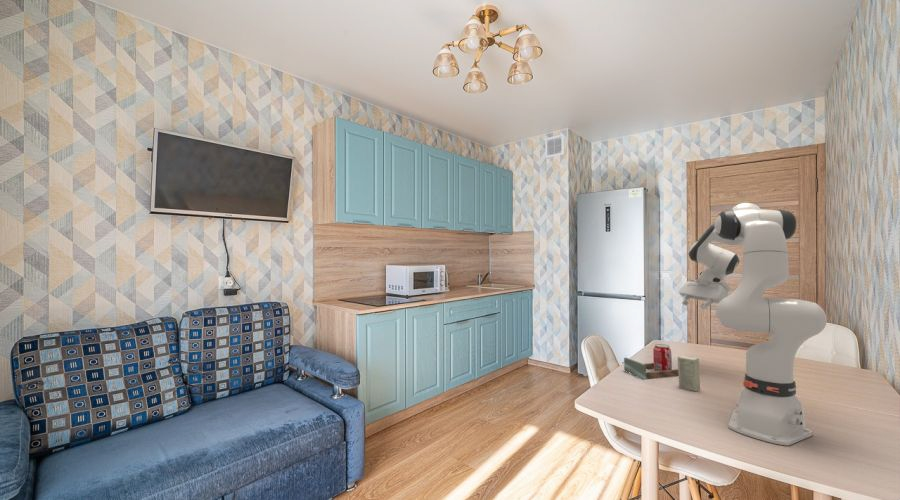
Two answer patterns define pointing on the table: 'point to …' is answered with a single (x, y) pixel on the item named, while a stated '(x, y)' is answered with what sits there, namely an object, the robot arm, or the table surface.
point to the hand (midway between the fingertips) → (693, 306)
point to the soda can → (662, 357)
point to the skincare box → (689, 373)
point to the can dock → (641, 368)
